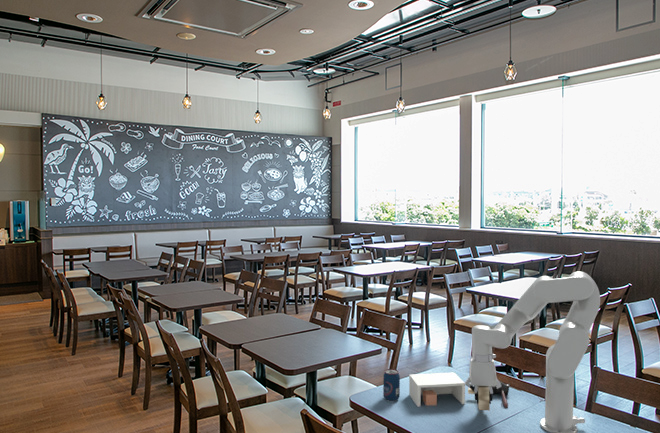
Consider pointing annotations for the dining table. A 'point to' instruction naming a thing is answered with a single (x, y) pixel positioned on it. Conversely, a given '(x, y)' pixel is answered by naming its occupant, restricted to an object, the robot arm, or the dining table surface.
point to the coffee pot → (503, 392)
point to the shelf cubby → (436, 385)
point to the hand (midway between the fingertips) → (483, 401)
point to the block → (429, 397)
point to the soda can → (391, 385)
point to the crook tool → (482, 397)
